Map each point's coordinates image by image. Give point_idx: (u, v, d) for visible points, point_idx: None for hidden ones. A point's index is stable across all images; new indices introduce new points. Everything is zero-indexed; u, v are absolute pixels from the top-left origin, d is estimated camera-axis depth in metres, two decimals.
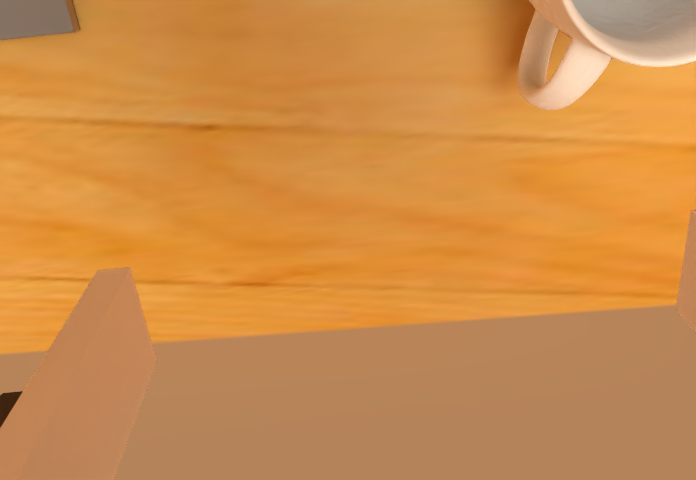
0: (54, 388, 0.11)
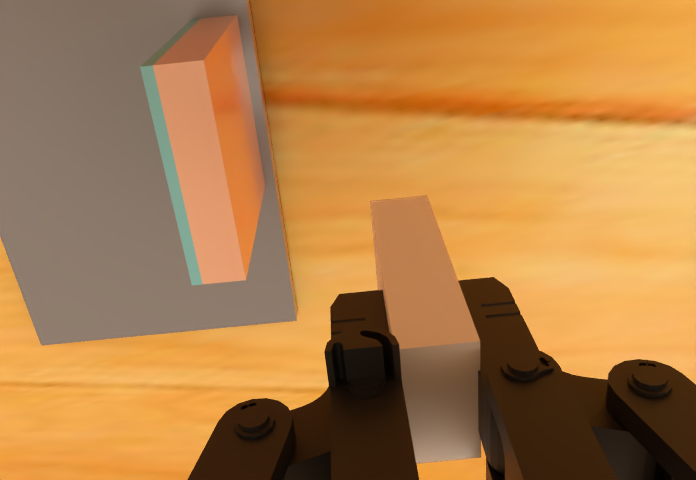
0: (411, 282, 0.13)
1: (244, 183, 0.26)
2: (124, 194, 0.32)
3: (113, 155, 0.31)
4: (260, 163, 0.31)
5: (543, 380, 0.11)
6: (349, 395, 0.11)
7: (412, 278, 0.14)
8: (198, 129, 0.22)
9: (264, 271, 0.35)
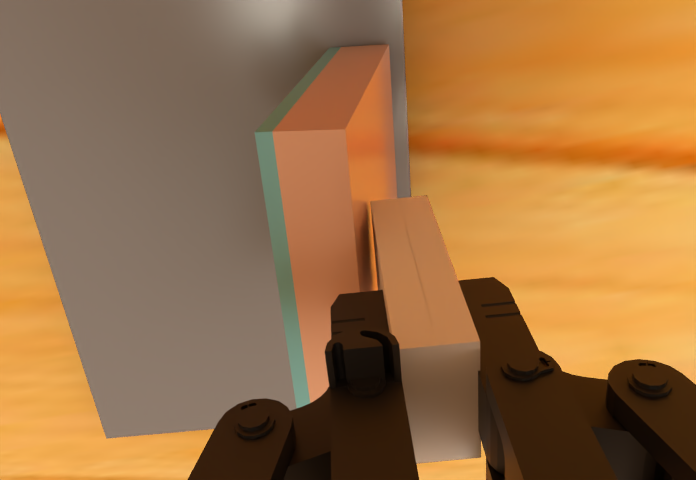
0: (411, 281, 0.13)
1: None
2: (224, 262, 0.26)
3: (214, 215, 0.25)
4: None
5: (543, 380, 0.11)
6: (349, 395, 0.11)
7: (412, 278, 0.14)
8: (327, 222, 0.15)
9: None
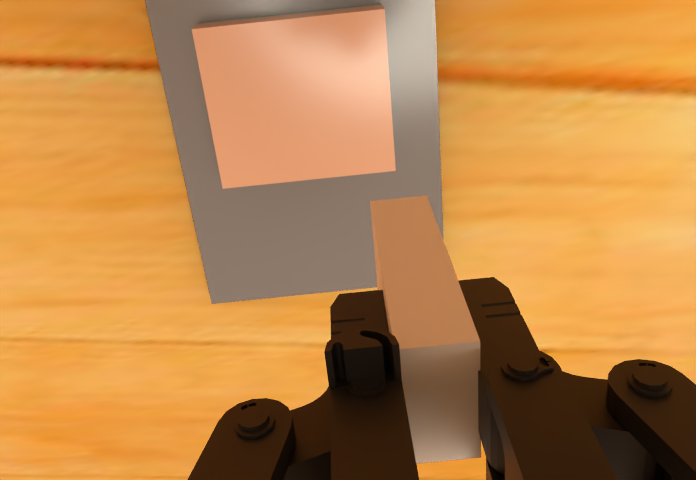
0: (411, 281, 0.13)
1: (278, 136, 0.33)
2: None
3: None
4: (386, 147, 0.34)
5: (543, 380, 0.11)
6: (349, 395, 0.11)
7: (412, 278, 0.14)
8: None
9: None
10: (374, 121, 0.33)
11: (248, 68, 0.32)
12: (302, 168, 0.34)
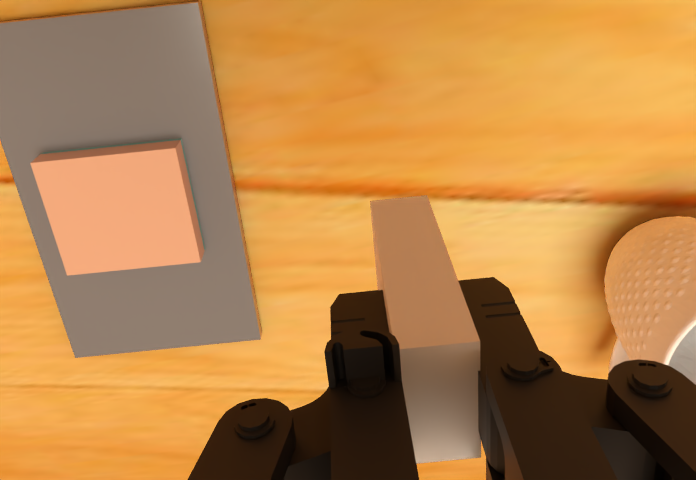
0: (411, 281, 0.13)
1: (106, 237, 0.43)
2: None
3: None
4: (191, 245, 0.44)
5: (543, 380, 0.11)
6: (349, 395, 0.11)
7: (412, 278, 0.14)
8: None
9: (236, 304, 0.48)
10: (179, 226, 0.43)
11: (76, 189, 0.42)
12: (127, 260, 0.44)
